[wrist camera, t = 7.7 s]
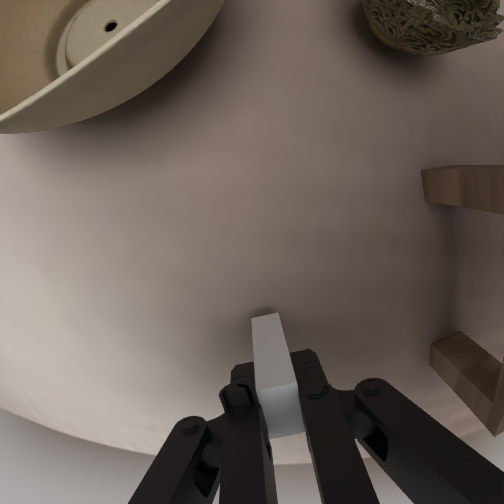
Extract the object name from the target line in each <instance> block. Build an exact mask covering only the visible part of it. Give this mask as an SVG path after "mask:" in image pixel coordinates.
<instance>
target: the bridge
mask: <svg viewBox="0 0 504 504" xmlns="http://www.w3.org/2000/svg"><path fill="white" fill-rule="evenodd" d="M421 173H422V179H423V185H424V192H425V199H426V202H432V203H439V204H446V205H452V206H459V207H465V208H471V209H477V210H483V211H488V212H494V213H499V214H504V165H462V166H449V167H442V168H435V169H428V170H421ZM430 366H431V367H432V368H433V369H434V370H435V371H436V372H437V373H438V374H439V376H440V377H441V378H442V379H443V380H444V381H445V382H446V383H447V384H448V385H449V386H450V387H451V388H452V390H453V391H454V392H455V393H456V394H457V395H458V396H459V397H460V398H461V399H462V401H463V402H464V403H465V404H466V405H467V406H468V407H469V408H470V410H471V411H472V412H473V413H474V414H475V415H476V416H477V417H478V419H479V420H480V421H481V422H482V423H483V424H484V425H485V427H486V428H487V429H488V430H489V431H490V432H491V433H492V435H493V436H494V437H495V436H497V435H498V434H500V433H502V432H503V431H504V358H503V363H501V362H499V361H498V360H497V359H496V358H494V357H493V356H492V355H491V354H489V353H488V352H487V351H486V350H484V349H483V348H482V347H480V346H479V345H478V344H477V343H475V342H474V341H473V340H471V339H470V338H469V337H468V336H466V335H465V334H464V333H462V332H460V333H457V334H455V335H453V336H450V337H448V338H445V339H443V340H441V341H438V342H436V343H433V344H431V358H430Z"/></svg>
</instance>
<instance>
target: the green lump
mask: <svg viewBox="0 0 504 504" xmlns="http://www.w3.org/2000/svg"><path fill="white" fill-rule="evenodd" d="M362 5H363V9H364V11H365V14H366V16H367V22H368V27H369V29H370V31H371V33H372V35H373V36H374V37H375V38H376V39H377V40H378V41H379V42H380V43H381V44H383V45H384V46H386V47H388V48H391V49H395V50H405V51H408V52H411V53H414V54H420V55H438V54H443V53H448V52H452V51H455V50H458V49H461V48H465V47H468V46H471V45H474V44H478V43H481V42H484V41H489V40H493V39H496V38H497V35H498V34H499V33H501V32H502V31H503V30H502V29H499V28H496V26H497V25H499V24H500V23H501V22H502V21H503V20H504V16H502V15H498V14H497V10H498V9H499V8H500V0H362Z"/></svg>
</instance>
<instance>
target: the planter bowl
mask: <svg viewBox="0 0 504 504" xmlns="http://www.w3.org/2000/svg"><path fill="white" fill-rule="evenodd" d="M224 2H225V0H0V134H17V133H28V132H36V131H43V130H48V129H53V128H58V127H62V126H66V125H70V124H73V123H76V122H80V121H83V120H85V119H88V118H91V117H94V116H96V115H99V114H101V113H103V112H106V111H108V110H110V109H112V108H114V107H116V106H118V105H120V104H122V103H124V102H126V101H128V100H130V99H131V98H133V97H135V96H136V95H138V94H140V93H141V92H143V91H144V90H146V89H147V88H148V87H150V86H151V85H153V84H154V83H155V82H157V81H158V80H160V79H161V78H162V77H163V76H164V75H166V74H167V73H168V72H169V71H170V70H171V69H173V68H174V67H175V66H176V65H177V64H178V63H179V62H180V61H181V60H182V59H183V58H184V57H185V56H186V55H187V54H188V53H189V52H190V51H191V50H192V48H193V47H194V46H195V45H196V44H197V42H198V41H199V40H200V39H201V37H202V36H203V35H204V34H205V32H206V31H207V29H208V28H209V27H210V25H211V24H212V22H213V21H214V19H215V18H216V16H217V15H218V13H219V11H220V9H221V7H222V6H223V4H224ZM113 22H114V23H116V24H117V26H116V27H115V29H114V30H113V31H110V32H106V26H107V25H108V24H110V23H113Z"/></svg>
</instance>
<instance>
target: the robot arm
mask: <svg viewBox="0 0 504 504" xmlns="http://www.w3.org/2000/svg"><path fill="white" fill-rule="evenodd" d="M251 322H252V338H253V354H254V362H249V363H244V364H239V365H235V367H234V368H233V370H232V371H231V381H230V384H229V385H227V386H225V387H224V388H223V389H222V390H221V391H220V393H219V397H220V400H221V402H222V405H223V408H224V411H225V412H224V414H222V415H221V416H219V417H217V418H215V419H212V420H209V421H205V419H203V418H202V417H199V416H189V417H186V418H183V419H182V420H180V421H178V422H177V423H176V425H175V426H174V427H173V429H172V431H171V433H170V434H169V436H168V438H167V439H166V441H165V443H164V444H163V446H162V448H161V449H160V451H159V453H158V454H157V456H156V458H155V460H154V461H153V463H152V465H151V466H150V468H149V469H148V471H147V473H146V474H145V476H144V478H143V480H142V481H141V483H140V484H139V486H138V488H137V489H136V491H135V492H134V494H133V496H132V497H131V499H130V501H129V502H128V504H212V503H213V500H214V497H215V495H216V492H217V490H218V487H219V484H220V495H219V504H278V501H277V492H276V484H275V475H274V466H273V457H272V448H271V445H270V441H269V438H270V439H272V438H277V437H282V436H287V435H292V434H297V433H301V432H306V436H307V442H308V447H309V452H310V454H311V458H312V463H313V467H314V471H315V475H316V479H317V484H318V488H319V493H320V497H321V501H322V504H380V503H379V500H378V498H377V496H376V493H375V490H374V488H373V485H372V483H371V480H370V477H369V475H368V473H367V470H366V467H365V465H364V462H363V460H362V457H361V455H360V452H359V450H358V447H357V445H356V442H355V440H354V439H357V440H358V442H359V443H360V444H361V445H362V446H363V448H364V449H365V450H366V451H367V452H368V453H369V454H370V456H371V457H372V458H373V459H374V460H375V461H376V462H377V463H378V465H379V466H380V467H381V468H382V469H383V470H384V471H385V472H386V473H387V475H388V476H389V477H390V478H391V479H392V480H393V481H394V482H395V483H396V484H397V486H398V487H399V488H400V489H401V490H402V491H403V492H404V493H405V494H406V495H407V496H408V498H409V499H410V500H411V501H412V502H413V503H414V504H504V472H503V471H501V470H500V469H499V468H497V467H496V466H495V465H494V464H492V463H491V462H490V461H488V460H487V459H486V458H484V457H483V456H482V455H480V454H479V453H478V452H476V451H475V450H474V449H472V448H471V447H469V445H467V444H466V443H465V442H463V441H462V440H461V439H459V438H458V437H457V436H456V435H454V434H453V433H452V432H450V431H449V430H448V429H446V428H445V427H444V426H443V425H441V424H440V423H439V422H437V421H436V420H435V419H434V418H432V417H431V416H430V415H428V414H427V413H426V412H425V411H423V410H422V409H421V408H419V407H418V406H417V405H416V404H414V403H413V402H412V401H411V400H409V399H408V398H407V397H405V396H404V395H403V394H402V393H400V392H399V391H398V390H397V389H395V388H394V387H393V386H392V385H390V384H389V383H388V382H387V381H385V380H383V379H379V378H369V379H366V380H363V381H361V382H360V383H358V384H357V386H356V387H355V390H348V391H344V390H337V389H334V388H333V387H332V386H331V385H330V384H328V382H327V379H326V377H325V374H324V372H323V369H322V367H321V365H320V362H319V360H318V357H317V355H316V353H315V352H313V351H312V350H310V349H306V350H302V351H297V352H293V353H289V351H288V347H287V343H286V340H285V336H284V332H283V328H282V325H281V321H280V317H279V313H273V314H269V315H264V316H260V317H255V318H251Z"/></svg>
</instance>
